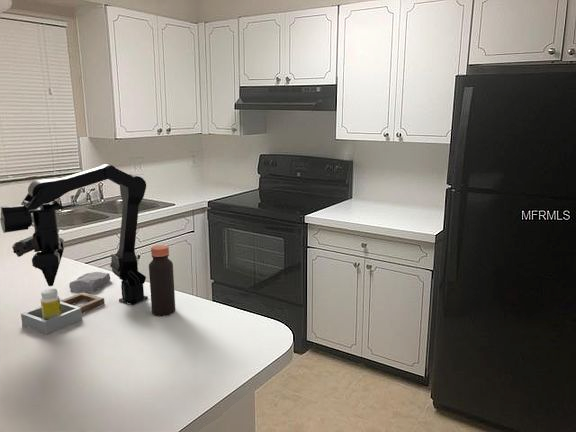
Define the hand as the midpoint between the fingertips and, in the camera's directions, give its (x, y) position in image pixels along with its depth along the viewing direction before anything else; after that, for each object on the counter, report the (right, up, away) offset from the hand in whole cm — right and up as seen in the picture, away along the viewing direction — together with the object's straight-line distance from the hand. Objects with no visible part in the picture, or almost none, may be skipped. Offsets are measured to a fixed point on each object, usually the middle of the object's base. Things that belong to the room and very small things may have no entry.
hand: (52, 280), depth 134 cm
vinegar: (+29, -11, +8) cm, 32 cm away
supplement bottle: (0, -11, 0) cm, 11 cm away
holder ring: (+3, -10, +11) cm, 15 cm away
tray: (0, -12, +1) cm, 12 cm away
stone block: (-2, -6, +29) cm, 30 cm away
